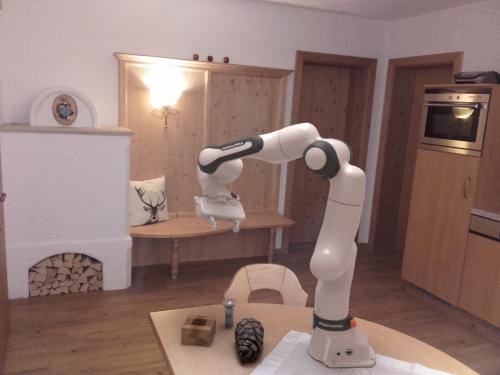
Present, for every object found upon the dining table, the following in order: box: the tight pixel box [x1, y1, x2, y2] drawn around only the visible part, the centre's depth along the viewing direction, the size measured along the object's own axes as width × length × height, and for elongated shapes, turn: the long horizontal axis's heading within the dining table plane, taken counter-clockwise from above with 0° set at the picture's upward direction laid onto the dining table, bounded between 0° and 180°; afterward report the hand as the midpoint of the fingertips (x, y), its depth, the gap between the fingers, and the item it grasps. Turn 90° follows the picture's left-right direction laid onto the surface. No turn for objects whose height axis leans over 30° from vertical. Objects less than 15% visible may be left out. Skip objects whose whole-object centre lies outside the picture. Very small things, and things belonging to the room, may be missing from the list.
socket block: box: [181, 314, 217, 347], centre depth 158 cm, size 10×10×6 cm
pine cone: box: [234, 317, 265, 367], centre depth 149 cm, size 10×18×10 cm, turn 6°
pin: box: [222, 298, 237, 329], centre depth 166 cm, size 5×5×10 cm
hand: (226, 230), depth 156 cm, fingers open, 8 cm apart
